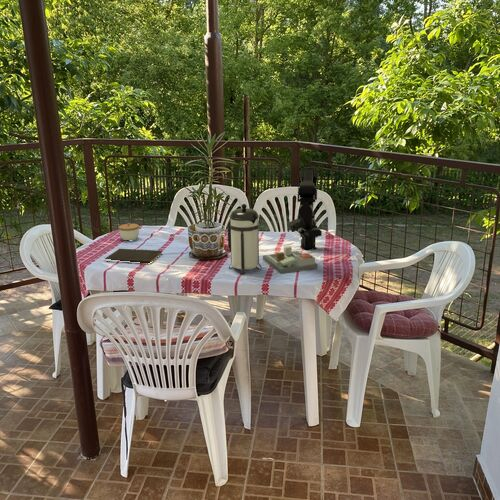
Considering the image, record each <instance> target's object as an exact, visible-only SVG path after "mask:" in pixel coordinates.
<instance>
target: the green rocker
mask: <svg viewBox="0 0 500 500" xmlns="http://www.w3.org/2000/svg"><path fill="white" fill-rule="evenodd" d="M294 261H295V258H293V257H292V256H291V257H289V258H286V259H284V260H282V261H280V263H281V264H282V265H283V266H284V265H286V264H289V263H291V262H294Z"/></svg>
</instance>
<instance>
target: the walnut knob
mask: <svg viewBox="0 0 500 500" xmlns="http://www.w3.org/2000/svg"><path fill="white" fill-rule="evenodd" d="M283 252H284V251H283ZM283 252H282V251H281V252H275V253H276V261H277V262H280V261H282V260H284V253H283Z"/></svg>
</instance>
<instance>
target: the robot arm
mask: <svg viewBox="0 0 500 500" xmlns="http://www.w3.org/2000/svg"><path fill="white" fill-rule="evenodd" d="M299 178H300V181H301V182H300V183H299V186H298V188H297V203H299V204H300V205H299V209H298V214H297V218H296V219H293V220H291V221H288V222H287V223H286V224H287V227H288V229H289V231H291V232H292V233H294V232H297V233H298V234H299V236H300V238H301V239H300V248H302V249H303V250H305V251H310V250H316V249H318V248H317V246H316V240H317V239H316V238H319V237H322V235H323V234H322V232H323V231H322V230H321V229H319V227H318V225H317V220H316V219H315V218H316V217H315V215H314V203H316V201H317V200H318V189H317V183H318V181H319V170H317V169H315V167H313V166H311V167H310V166H308V167H307V166H306V167H303V169H301V170H300V177H299Z"/></svg>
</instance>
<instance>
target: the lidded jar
mask: <svg viewBox="0 0 500 500" xmlns="http://www.w3.org/2000/svg"><path fill="white" fill-rule="evenodd" d="M118 231H119V236H120V238H121V239H122V240H123V241H124V240H134V241H136V240H135V239H137V238H138V237H139V235H140V234H139V233H140V225H139V224H137V223H130V222H127V223H125V224H120V225H119V226H118Z"/></svg>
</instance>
